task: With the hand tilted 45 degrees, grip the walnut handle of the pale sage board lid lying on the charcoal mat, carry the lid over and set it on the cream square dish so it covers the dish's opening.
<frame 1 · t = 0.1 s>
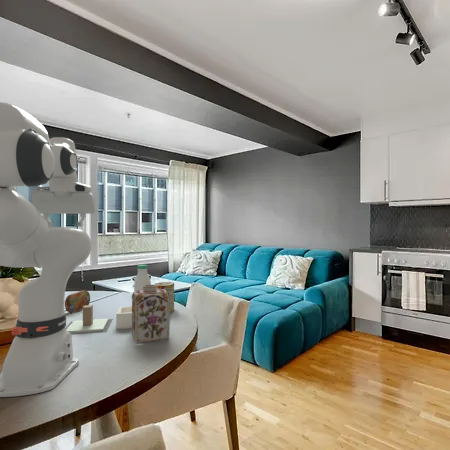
hand: (65, 226, 111), 39 cm above the table, tool pointing down, fingers open, 8 cm apart
yellow labeled can: (164, 310, 147), on the table
milk bottle: (142, 307, 151), on the table
decorative jar: (150, 336, 113), on the table
lid: (87, 326, 122), resting on mat
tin: (77, 310, 147), on the table
mat: (87, 327, 122), on the table
dish: (131, 324, 125), on the table
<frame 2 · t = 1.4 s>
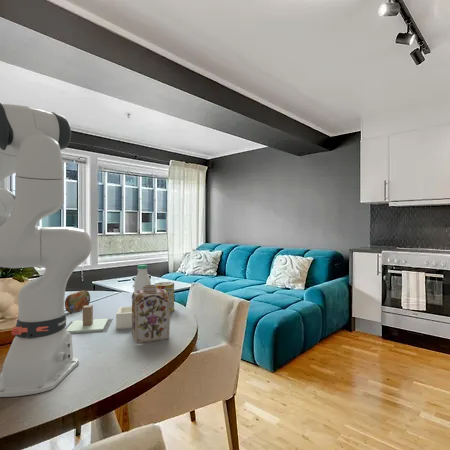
hand: (37, 259, 119), 27 cm above the table, tool tilted 45°, fingers open, 8 cm apart
nothing on the table moved.
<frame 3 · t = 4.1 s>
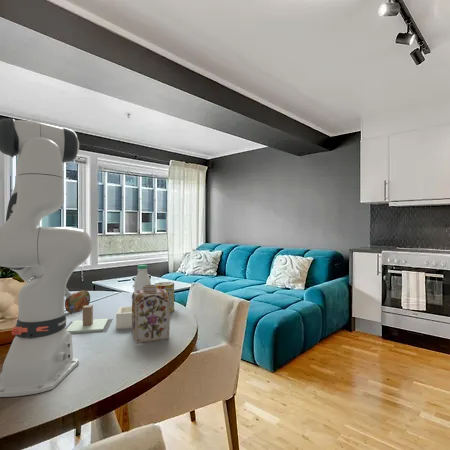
hand: (66, 299, 121), 11 cm above the table, tool tilted 45°, fingers open, 8 cm apart
nothing on the table moved.
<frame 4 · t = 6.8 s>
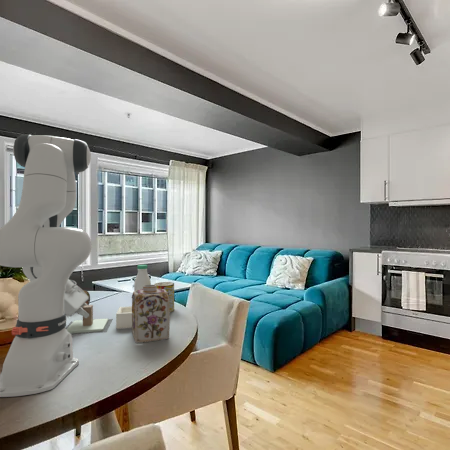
hand: (89, 314, 122), 5 cm above the table, tool tilted 45°, fingers closed on lid, 3 cm apart
lid: (87, 326, 122), resting on mat, touching gripper
everything else where it was.
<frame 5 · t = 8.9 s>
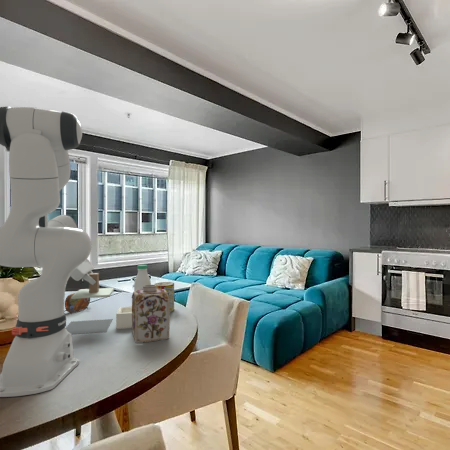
hand: (95, 282, 123), 17 cm above the table, tool tilted 45°, fingers closed on lid, 3 cm apart
lid: (94, 294, 123), point 13 cm above the table, touching gripper
everything else where it was.
when the fingers open (12 cm above the table, at t = 11.4 s): lid drops 1 cm, resting on dish.
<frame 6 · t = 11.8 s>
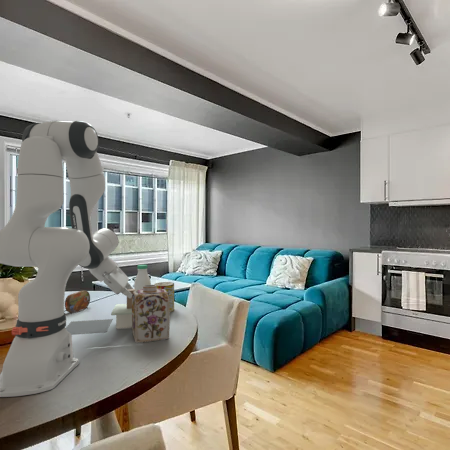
hand: (132, 294, 125), 12 cm above the table, tool tilted 45°, fingers open, 7 cm apart
lid: (131, 309, 125), point 6 cm above the table, touching dish
everything else where it was.
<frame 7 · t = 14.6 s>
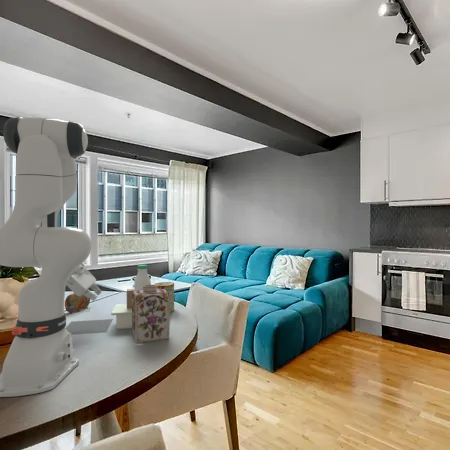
hand: (98, 296, 123), 12 cm above the table, tool tilted 45°, fingers open, 8 cm apart
nothing on the table moved.
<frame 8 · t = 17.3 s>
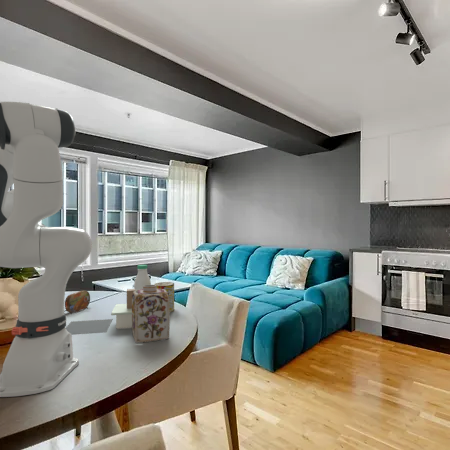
hand: (58, 256, 121), 27 cm above the table, tool tilted 45°, fingers open, 8 cm apart
nothing on the table moved.
at the end: lid 0.1 cm off-centre on the dish, point 6.0 cm above the dish's base; lid tilted 0°; the gripper is holding nothing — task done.
